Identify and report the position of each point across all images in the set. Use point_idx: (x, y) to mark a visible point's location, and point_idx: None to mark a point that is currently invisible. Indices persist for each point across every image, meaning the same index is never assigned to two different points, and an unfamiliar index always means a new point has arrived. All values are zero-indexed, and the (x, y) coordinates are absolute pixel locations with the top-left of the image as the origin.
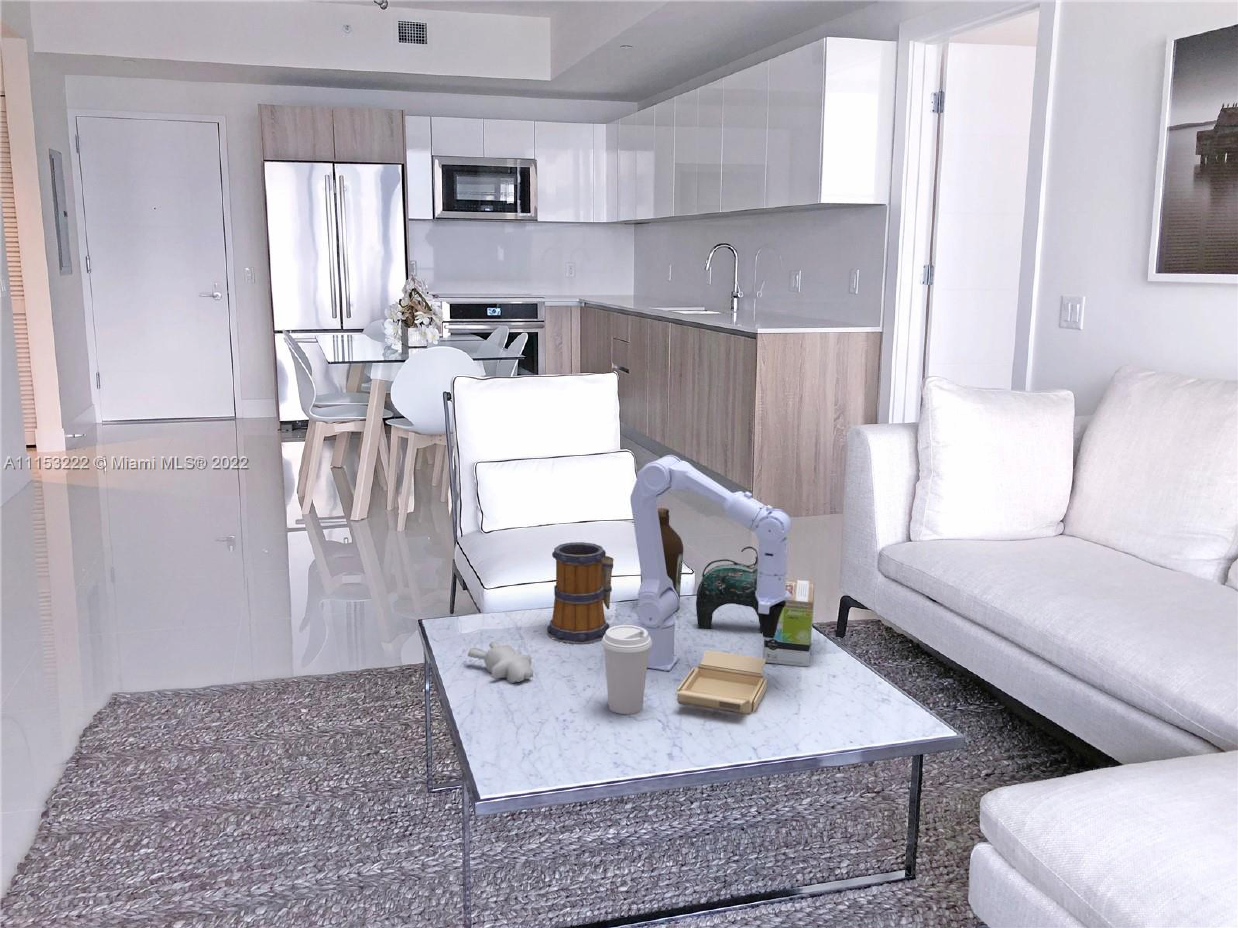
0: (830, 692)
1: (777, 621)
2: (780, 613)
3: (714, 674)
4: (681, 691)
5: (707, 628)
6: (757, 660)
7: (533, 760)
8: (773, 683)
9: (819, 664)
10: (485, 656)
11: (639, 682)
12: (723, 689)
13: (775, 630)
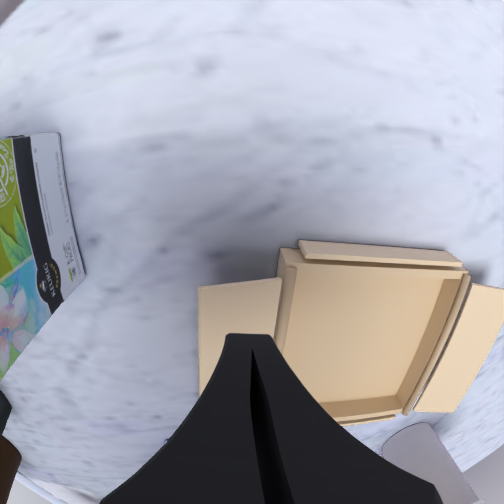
0: (255, 27)
1: (294, 413)
2: (257, 465)
3: None
4: (433, 409)
5: (2, 395)
6: (216, 315)
7: (501, 430)
8: (235, 222)
9: (32, 105)
10: None
11: (451, 459)
12: (333, 347)
13: (283, 362)
